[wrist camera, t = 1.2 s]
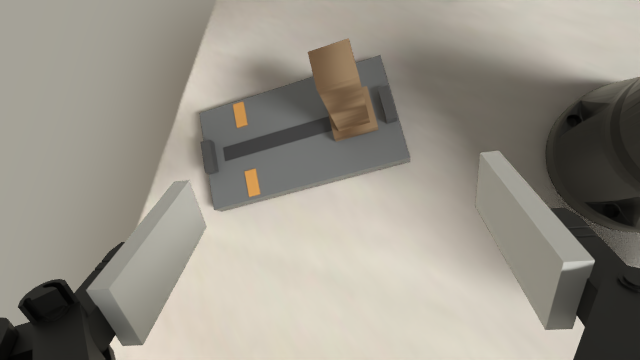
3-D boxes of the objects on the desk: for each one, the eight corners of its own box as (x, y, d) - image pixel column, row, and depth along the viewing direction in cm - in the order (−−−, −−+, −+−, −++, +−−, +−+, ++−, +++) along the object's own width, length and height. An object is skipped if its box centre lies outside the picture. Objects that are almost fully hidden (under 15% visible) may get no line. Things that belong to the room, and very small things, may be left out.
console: (381, 63, 44) (379, 49, 41) (409, 161, 41) (410, 154, 38) (207, 118, 48) (194, 109, 45) (222, 211, 45) (208, 208, 42)
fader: (367, 90, 41) (354, 28, 29) (378, 129, 40) (369, 81, 28) (326, 102, 42) (298, 47, 30) (336, 141, 41) (310, 99, 29)
